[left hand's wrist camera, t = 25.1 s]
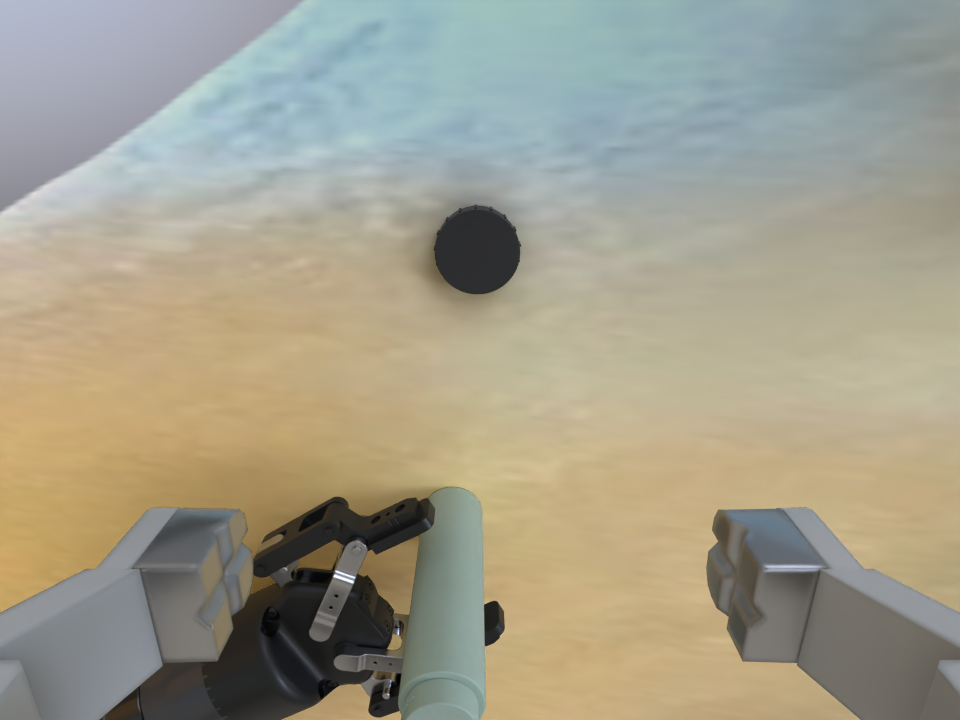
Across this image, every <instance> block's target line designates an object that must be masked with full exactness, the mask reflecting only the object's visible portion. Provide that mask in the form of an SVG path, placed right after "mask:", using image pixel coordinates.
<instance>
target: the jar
mask: <svg viewBox="0 0 960 720" xmlns="http://www.w3.org/2000/svg"><path fill="white" fill-rule="evenodd" d="M428 499H429V500H430V501H431V503H432V504H433V506H434V507H435V518H434V524H433V526H432V527H431V528H430V529H429V530H428V531H426V532H424V533H422V534H420V540H419V547H418V555H417V562H416V570H415V577H414V585H413V592H412V600H411V607H410V615H409V622H408V630H407V637H406V645H405V652H404V660H403V667H402V675H401V682H400V690H399V697H398V706H399V710H400V713H401V715H402V716H401V720H480V718H481V717H482V715H483V713H484V710H485V706H486V689H485V633H484V578H483V523H482V507H481V504H480V502H479V500H478V499H477V498H476V497H475V496H474V495H473V494H472V493H471V492H469V491H467V490H465V489H462V488H457V487H448V488H443V489H440V490H438V491H436V492H435V493H433V494H432V495H431V496H430V497H429V498H428Z"/></svg>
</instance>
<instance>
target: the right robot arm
mask: <svg viewBox="0 0 960 720" xmlns="http://www.w3.org/2000/svg"><path fill="white" fill-rule="evenodd" d="M348 507H349V506H348V502H347V501H346V500H345V499H344V498H341V497H333V498H331V499H330V500H328V501H326V502H324V503H322V504H321V505H319V506H317V507H315V508H314V509H312V510H310V511H308V512H307V513H305V514H303V515H301V516H299V517H298V518H296V519H294V520H292V521H291V522H289V523H287V524H285V525H283V526H282V527H280V528H278V529H276V530H275V531H273V532H271V533H269V534H267V535H266V536H265V538H264V540H263V542H262V543H261V545H260V547H259V549H258V551H257V553H256V555H255V557H254V559H253V574H254V575H255V576H257V577H267V576H269V575H270V576H271V577H272V579H273V580H274V581H275V582H276V583H275V584H273V585H271V586H268V587H266V588H264V589H262V590H260V591H258V592H256V593H254V594H251V595H249V597H248V599H247V601H246V603H245V605H244V608H243V609H241V610H240V611H238V612H237V613H236V614H234V615H233V616H231V618H232V624H233V630H232V632H231V634H230V636H229V638H228V640H227V642H226V644H225V646H224V648H223V650H222V652H221V654H220V657H219V659H218V661H211V662H177V663H162V664H163V666H162V667H161V668H160V669H158V670H157V671H156V672H155V673H154V674H153V675H151V676H150V677H149V678H148V679H147V680H146V681H144V682H143V683H142V684H141V685H140V686H138V687H137V688H136V689H135V690H134V691H133V692H131V693H130V694H129V695H128V696H127V697H125V698H124V699H123V700H122V701H121V702H120V703H118V704H117V705H116V706H115V707H114V708H112V709H111V710H110V711H109V712H108V713H107V714H105V715H104V716H103V717H102V718H101V719H99V720H281V719H284V718H286V717H288V716H291V715H293V714H295V713H298V712H300V711H303V710H305V709H307V708H310V707H312V706H314V705H316V704H317V703H318V702H320V701H321V700H322V699H323V698H324V697H325V696H327V695H328V694H329V693H330V692H331V691H332V690H334V689H335V688H336V687H338V686H340V685H345V684H361V685H362V687H363V688H364V690H365V691H366V692H367V694H368V695H369V696H370V704H369V709H368V711H369V713H370V714H371V715H372V716H374V717H383V716H386V715H389V714H392V713H394V712H397V711H400V710H399V706H398V697H399V690H400V682H401V675H402V667H403V660H404V652H405V645H406V637H407V630H408V622H409V615H404V614H396V613H394V610H393V608H392V607H391V606H390V604H389V603H388V602H387V601H386V600H385V599H383V598H382V597H381V596H379V595H378V593H377V590H376V587H375V585H374V583H373V582H372V581H371V579H370V578H369V577H368V575H367V576H365V577H363V576H361V575H359V574H357V573H358V571H359V569H360V567H361V565H362V563H363V560H364V558H365V556H366V554H367V551H369V550H371V549H372V550H373V551H374V553H375V554H378V553H381V552H383V551H385V550H387V549H389V548H391V547H394V546H396V545H398V544H400V543H402V542H404V541H407V540H409V539H411V538H413V537H415V536H417V535H420V534H422V533H424V532H426V531H428V530H429V529H430V528H431V527H432V526H433V524H434V518H435V507H434V506H433V504H432V503H431V501H430V500H429V499H428V498H425V499H422V500H420V501H418V500H417V498H408V499H405V500H403V501H401V502H399V503H396V504H394V505H392V506H390V507H388V508H386V509H384V510H382V511H380V512H377V513H375V514H373V515H371V516H365V515H361V516H360V515H358V514H356V513H355V512H353V511H352V510H350V509H349V508H348ZM333 540H336V541H338V542H339V543H341V544H342V547H341V549H340V551H339V553H338V556H337V558H336V560H335V562H334V564H333V567H332V569H331V570H323V569H313V568H298V569H296V567H297V565H298V563H299V560H300V558H302V557H303V556H305V555H307V554H309V553H311V552H313V551H314V550H316V549H318V548H320V547H322V546H324V545H325V544H327V543H329V542H331V541H333ZM504 628H505V625H504V611H503V609H502V608H501V606H500V605H499V603H498V602H497V601H492V602H489V603H487V604H485V605H484V633H485V646H488V645H490V644H493V643H494V642H496V641H497V640H498V639H499V638H500V635H501V634H502V633H503V631H504ZM392 634H397V635H399V636H400V637H401V638H402V645H401V647H400V648H399V649H397V650H387V648H388V646H389V644H390V642H391V639H392Z"/></svg>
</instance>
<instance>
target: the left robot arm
mask: <svg viewBox="0 0 960 720" xmlns="http://www.w3.org/2000/svg"><path fill="white" fill-rule="evenodd" d="M247 531H248V527H247V523H246V518H245V513H243V512H242V511H241V510H240V509H222V508H152V509H149V510H147V511H146V512H145V513H144V514H143V515H142V516H141V518H140V519H139V520H138V521H137V522H136V523H135V524H134V526H133V527H132V528H131V529H130V530H129V531H128V532H127V534H126V535H125V536H124V537H123V538H122V539H121V541H120V542H119V543H118V544H117V545H116V546H115V547H114V549H113V550H112V551H111V552H110V553H109V554H108V556H107V557H106V558H105V559H104V560H103V561H102V562H101V564H100V565H99V566H98V567H97V568H96V569H85V570H83V571H81V572H80V573H78V574H76V575H74V576H72V577H70V578H68V579H66V580H64V581H62V582H60V583H58V584H56V585H54V586H52V587H50V588H48V589H46V590H44V591H42V592H40V593H38V594H36V595H34V596H32V597H30V598H28V599H26V600H24V601H22V602H21V603H19V604H17V605H15V606H13V607H11V608H9V609H7V610H5V611H3V612H1V613H0V720H99V719H101V718H102V717H103V716H104V715H105V714H107V713H108V712H109V711H110V710H111V709H112V708H114V707H115V706H116V705H117V704H118V703H120V702H121V701H122V700H123V699H124V698H125V697H127V696H128V695H129V694H130V693H131V692H133V691H134V690H135V689H136V688H137V687H138V686H140V685H141V684H142V683H143V682H144V681H146V680H147V679H148V678H149V677H150V676H151V675H153V674H154V673H155V672H156V671H157V670H158V669H160V668H161V667H162V666H163V664H162V663H177V662H211V661H218V659H219V657H220V654H221V652H222V650H223V648H224V646H225V644H226V642H227V640H228V638H229V636H230V634H231V632H232V630H233V624H232V618H231V616H233V615H234V614H236V613H237V612H238V611H240V610H241V609H243V608H244V605H245V603H246V601H247V599H248V597H249V594H250V590H251V585H252V581H253V558H252V551H251V550H250V549H249V548H248V547H247V546H246V545H245V544H244V543H243V542H242V540H243V538H244V536H245V534H246V533H247ZM712 531H713V533H714V534H715V536H716V538H717V540H718V542H717V543H716V544H715V545H714V546H713V547H712V548H711V549H710V550H709V551H708V559H707V567H706V569H707V581H708V587H709V590H710V594H711V597H712V599H713V601H714V603H715V605H716V608H717V609H719V610H720V611H722V612H723V613H724V614H726V615H727V616H729V618H728V624H727V630H728V632H729V634H730V636H731V638H732V640H733V642H734V644H735V646H736V648H737V650H738V652H739V654H740V656H741V658H742V660H743V661H747V662H783V663H797V666H798V667H799V668H801V669H802V670H803V671H804V672H805V673H807V674H808V675H809V676H810V677H811V678H812V679H814V680H815V681H816V682H817V683H818V684H819V685H821V686H822V687H823V688H824V689H825V690H827V691H828V692H829V693H830V694H831V695H832V696H834V697H835V698H836V699H837V700H838V701H839V702H841V703H842V704H843V705H844V706H845V707H847V708H848V709H849V710H850V711H851V712H852V713H854V714H855V715H856V716H857V717H858V718H860V719H861V720H960V613H959V612H957V611H955V610H953V609H951V608H949V607H947V606H945V605H943V604H941V603H939V602H937V601H935V600H933V599H931V598H929V597H928V596H926V595H924V594H922V593H920V592H918V591H916V590H914V589H912V588H910V587H908V586H906V585H904V584H902V583H900V582H898V581H896V580H894V579H892V578H890V577H888V576H886V575H884V574H882V573H880V572H879V571H877V570H875V569H864V568H863V567H862V566H861V565H860V564H859V562H858V561H857V560H856V559H855V558H854V557H853V556H852V554H851V553H850V552H849V551H848V550H847V549H846V548H845V546H844V545H843V544H842V543H841V542H840V541H839V539H838V538H837V537H836V536H835V535H834V534H833V533H832V531H831V530H830V529H829V528H828V527H827V526H826V524H825V523H824V522H823V521H822V520H821V519H820V518H819V516H818V515H817V514H816V513H815V512H814V511H813V510H811V509H809V508H807V507H796V508H777V509H728V510H718V511H717V513H716V515H715V517H714V522H713V527H712Z"/></svg>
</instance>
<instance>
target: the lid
mask: <svg viewBox="0 0 960 720" xmlns="http://www.w3.org/2000/svg"><path fill="white" fill-rule="evenodd" d="M437 235H438V237H437V240H436V245H435V247H434V250H435V259H436V265H437V266H438V269H439V271H440V273H441V274H442V276H443V277H444V279H445V280H446V281H447V282H448V283H449V284H450V285H452V286H453V287H455V288H456V289H458V290H460V291H463V292H466V293H470V294H485V293H489V292H492V291H495V290H497V289H499V288H500V287H502V286H503V285H504V284H506V283H507V282H508V281H509V280H510V279H511V277H512V276H513V274H514V273H515V271H516V269H517V266H518V263H519V262H520V260H519V259H520V247H521V244H520V242H519V241H518V237H517V235H516V229H515V226H514V227H513V226H512V224H511V223H510V222H509V220H508V219H507V218H506V215H505V214H504V215H502V214H501V213H499V212H498V211H496V210H494V209H492V207H490V208H488V207H484V206H476V205H475V206H471V207H466V208H463V209H461V208H459V211H457V212H455V213H454V214H452V215H451V216H450V217H449V218H448V217H447V218H446V221H445V222H444V224H443V226H442V227H441V229H440V230H438V233H437Z"/></svg>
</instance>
